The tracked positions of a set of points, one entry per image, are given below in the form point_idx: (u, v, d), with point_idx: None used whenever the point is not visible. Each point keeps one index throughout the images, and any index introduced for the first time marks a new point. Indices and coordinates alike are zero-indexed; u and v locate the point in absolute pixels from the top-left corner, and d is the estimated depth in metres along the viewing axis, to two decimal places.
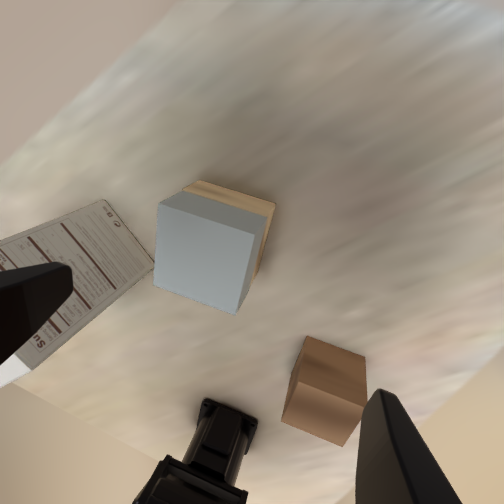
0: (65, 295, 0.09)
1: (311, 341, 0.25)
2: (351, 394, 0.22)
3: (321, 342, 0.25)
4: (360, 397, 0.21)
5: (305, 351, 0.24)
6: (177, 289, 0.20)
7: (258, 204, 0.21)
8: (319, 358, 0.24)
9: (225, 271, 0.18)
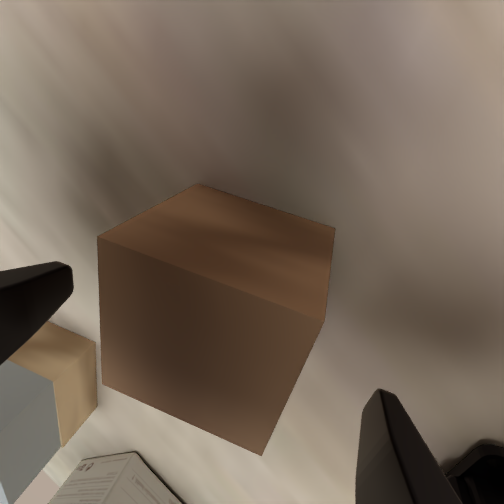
0: (65, 295, 0.09)
1: None
2: None
3: None
4: None
5: None
6: None
7: None
8: None
9: None
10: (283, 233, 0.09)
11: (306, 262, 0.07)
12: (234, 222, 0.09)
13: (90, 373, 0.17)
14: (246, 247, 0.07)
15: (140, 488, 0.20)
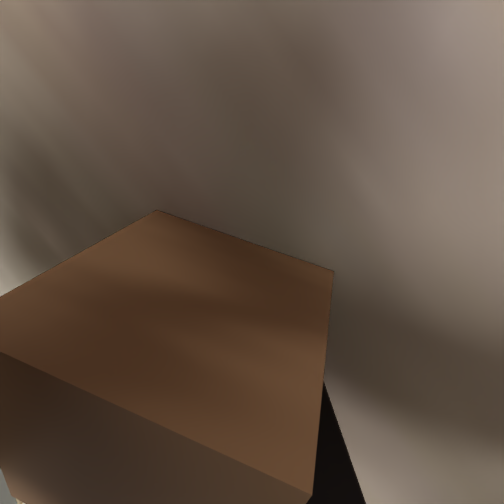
0: None
1: None
2: None
3: None
4: None
5: None
6: None
7: None
8: None
9: None
10: (261, 288, 0.06)
11: (290, 345, 0.05)
12: (191, 274, 0.06)
13: None
14: (200, 324, 0.05)
15: None
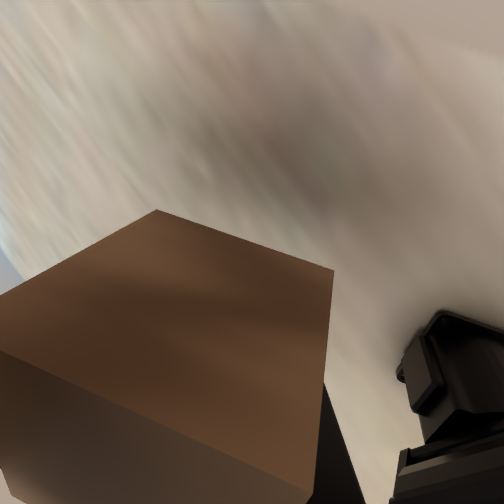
0: None
1: None
2: None
3: None
4: None
5: None
6: None
7: None
8: None
9: None
10: (262, 287, 0.06)
11: (290, 345, 0.05)
12: (191, 273, 0.06)
13: None
14: (200, 323, 0.05)
15: None
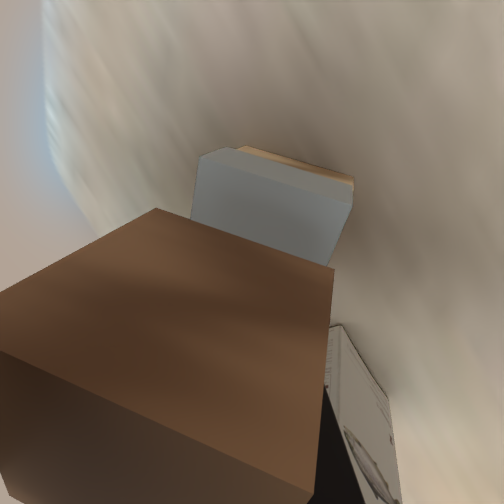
0: None
1: None
2: None
3: None
4: None
5: None
6: None
7: None
8: None
9: (264, 210, 0.12)
10: (261, 285, 0.06)
11: (290, 343, 0.05)
12: (191, 272, 0.06)
13: None
14: (200, 322, 0.05)
15: (354, 357, 0.19)
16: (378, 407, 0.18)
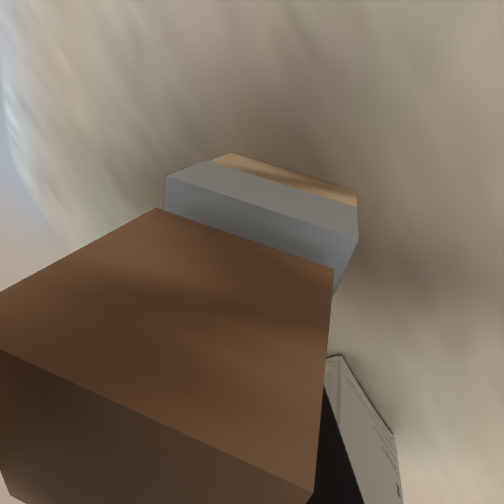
0: None
1: None
2: None
3: None
4: None
5: None
6: None
7: None
8: None
9: None
10: (261, 285, 0.06)
11: (291, 343, 0.05)
12: (192, 271, 0.06)
13: None
14: (200, 321, 0.05)
15: (356, 393, 0.16)
16: (383, 452, 0.16)
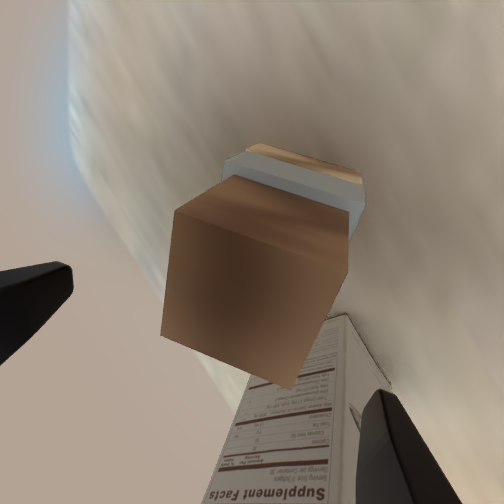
0: (65, 295, 0.09)
1: None
2: None
3: None
4: None
5: None
6: None
7: None
8: None
9: None
10: (309, 213, 0.11)
11: (330, 235, 0.10)
12: (269, 204, 0.11)
13: None
14: (282, 223, 0.10)
15: (359, 344, 0.20)
16: None
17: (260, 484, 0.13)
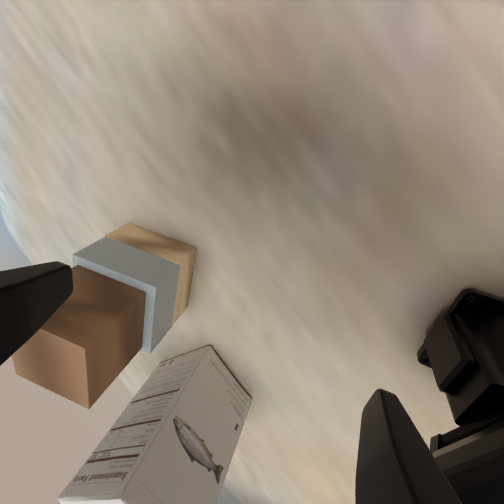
0: (65, 295, 0.09)
1: None
2: None
3: None
4: None
5: None
6: (146, 334, 0.20)
7: None
8: None
9: None
10: (106, 299, 0.17)
11: (103, 318, 0.16)
12: (80, 294, 0.17)
13: (190, 272, 0.24)
14: (75, 311, 0.16)
15: (215, 369, 0.26)
16: (230, 404, 0.26)
17: (100, 471, 0.20)
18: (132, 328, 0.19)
